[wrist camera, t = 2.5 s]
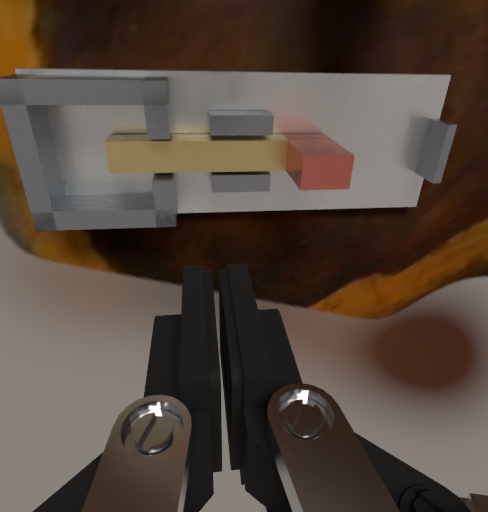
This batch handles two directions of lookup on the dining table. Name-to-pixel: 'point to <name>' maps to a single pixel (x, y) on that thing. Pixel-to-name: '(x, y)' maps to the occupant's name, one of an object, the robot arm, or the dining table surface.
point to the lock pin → (236, 156)
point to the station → (216, 123)
